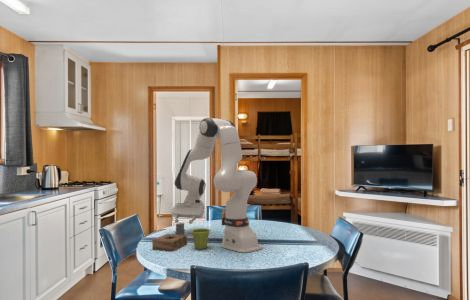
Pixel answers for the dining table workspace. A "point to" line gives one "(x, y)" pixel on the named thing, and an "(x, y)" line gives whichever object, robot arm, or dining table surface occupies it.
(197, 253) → the dining table surface
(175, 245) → the brown wooden box
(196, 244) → the plant pot
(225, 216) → the ammunition clip
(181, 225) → the servo
